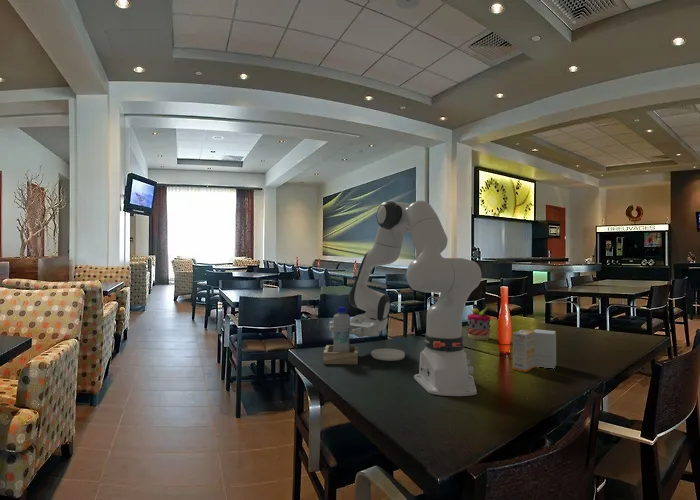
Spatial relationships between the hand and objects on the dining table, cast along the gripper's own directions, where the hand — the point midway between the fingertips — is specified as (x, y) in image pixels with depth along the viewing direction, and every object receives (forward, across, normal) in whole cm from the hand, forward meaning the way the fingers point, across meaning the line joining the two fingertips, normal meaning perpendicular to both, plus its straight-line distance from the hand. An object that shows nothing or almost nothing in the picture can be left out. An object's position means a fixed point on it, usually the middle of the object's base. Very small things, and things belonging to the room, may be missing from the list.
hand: (341, 330), depth 152 cm
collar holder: (0, 0, +11) cm, 11 cm away
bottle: (0, 0, +11) cm, 11 cm away
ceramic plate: (-15, +12, +11) cm, 22 cm away
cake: (-71, +30, +11) cm, 78 cm away
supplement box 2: (-37, +64, +11) cm, 75 cm away
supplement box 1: (-29, +59, +11) cm, 67 cm away
